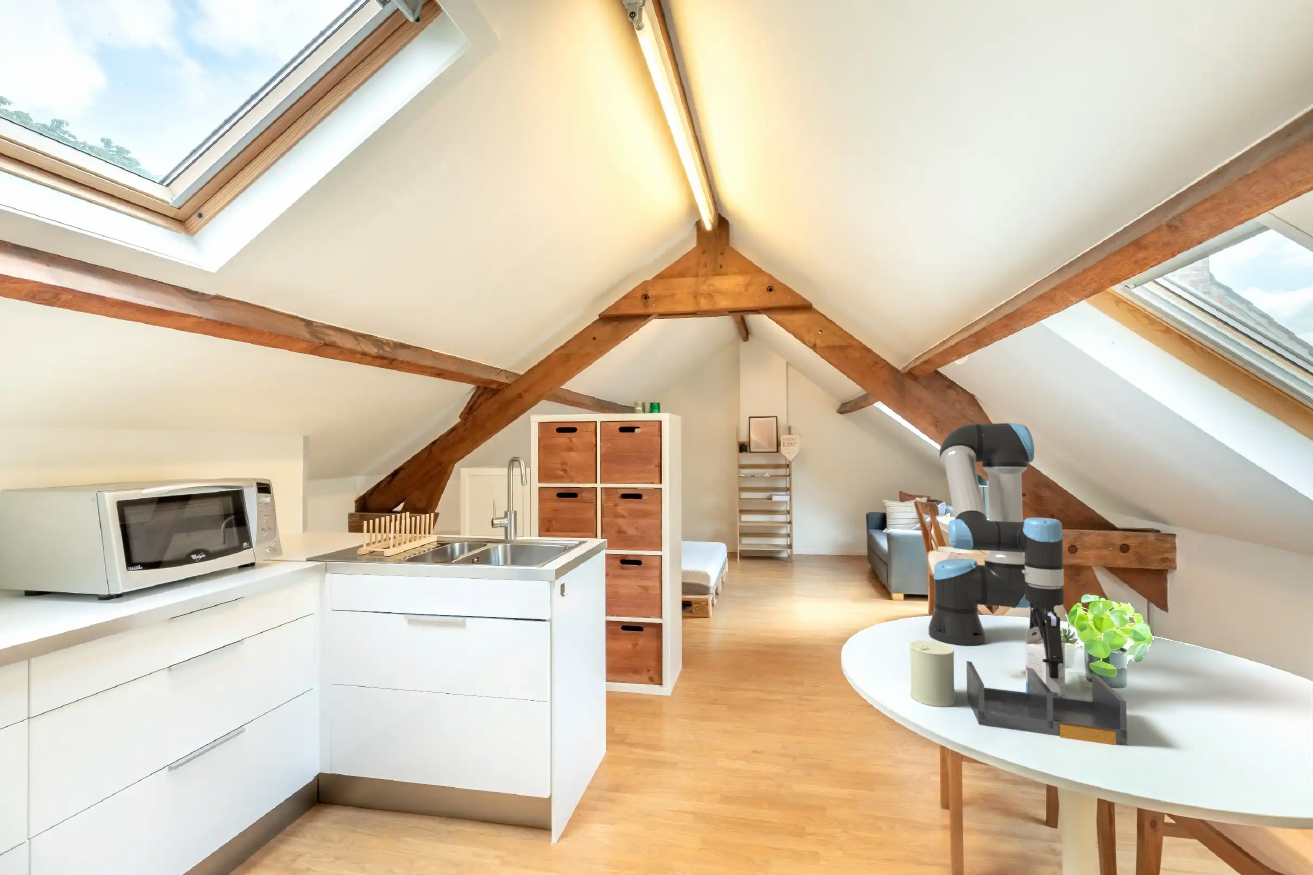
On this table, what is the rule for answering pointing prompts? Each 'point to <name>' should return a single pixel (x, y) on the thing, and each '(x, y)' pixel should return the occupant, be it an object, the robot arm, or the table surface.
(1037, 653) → the ink box
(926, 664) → the can
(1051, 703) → the rack
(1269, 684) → the table surface
